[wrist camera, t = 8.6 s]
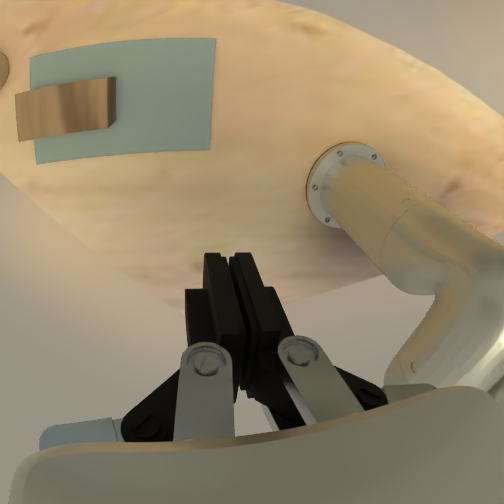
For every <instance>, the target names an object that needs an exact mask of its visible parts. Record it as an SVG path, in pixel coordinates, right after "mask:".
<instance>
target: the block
mask: <svg viewBox="0 0 504 504" xmlns="http://www.w3.org/2000/svg"><path fill="white" fill-rule="evenodd" d="M15 104H16V119H17V131H18V140H19V142H21V141H26V140H32V139H37V138H43V137H48V136H55V135H61V134H68V133H75V132H82V131H90V130H99V129H108V128H109V127H110V126H111V125H112V124H113V123H114V122H115V121H116V77H107V78H99V79H91V80H84V81H78V82H72V83H66V84H60V85H55V86H50V87H45V88H40V89H36V90H31V91H27V92H23V93H19V94H15Z"/></svg>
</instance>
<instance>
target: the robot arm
mask: <svg viewBox="0 0 504 504" xmlns="http://www.w3.org/2000/svg"><path fill="white" fill-rule="evenodd" d="M337 152H338V153H337ZM313 185H314V186H313ZM306 196H307V201H308V205H309V207H310V210H311V211H312V213H313V214H314V215H315V217H316V218H317V219H318V220H319V221H320V222H322V223H323V224H325V225H327V226H329V227H332V228H338V229H340V228H342V229H343V230H344V231H345V232H346V233H347V234H348V235H349V236H350V237H351V238H352V239H353V240H354V242H355V243H356V244H357V245H358V246H359V247H360V248H361V249H362V250H363V251H364V252H365V254H366V255H367V256H368V257H369V258H370V259H371V260H372V261H373V262H374V264H375V265H376V266H377V267H378V268H379V269H380V270H381V272H382V273H383V274H384V275H385V276H386V277H387V278H388V279H389V280H390V281H391V283H392V284H393V285H395V286H396V287H397V288H399V289H400V290H402V291H404V292H406V293H409V294H414V295H436V296H435V300H434V303H433V304H432V306H431V308H430V309H429V311H428V312H427V313H426V316H425V317H424V319H423V320H422V321H421V322H420V324H419V325H418V327H417V328H416V329H415V331H414V332H413V333H412V334H411V336H410V337H409V338H408V340H407V341H406V342H405V344H404V345H403V346H402V347H401V349H400V350H399V351H398V353H397V354H396V355H395V357H394V358H393V360H392V361H391V362H390V364H389V366H388V368H387V370H386V373H385V376H384V386H383V387H382V388H379V387H378V386H376V385H374V384H372V383H370V382H368V381H366V380H364V379H362V378H359V377H357V376H355V375H353V374H351V373H348V372H346V371H344V370H342V369H340V368H338V367H336V366H334V365H333V364H332V362H331V361H330V360H329V358H328V357H327V355H326V354H325V352H324V351H323V349H322V348H321V346H320V345H319V344H318V343H317V342H315V341H314V340H312V339H310V338H308V337H305V336H299V335H296V336H295V335H294V333H293V331H292V328H291V326H290V324H289V321H288V319H287V317H286V314H285V312H284V310H283V307H282V305H281V303H280V300H279V298H278V296H277V293H276V291H275V289H274V287H272V286H271V287H264V285H263V282H262V280H261V277H260V275H259V272H258V269H257V267H256V264H255V262H254V259H253V257H252V254H251V253H235V255H234V257H230V258H229V265H228V263H227V259H226V257H221V254H220V253H205V254H204V270H203V289H185V318H186V332H187V341H188V348H187V349H186V350H185V351H184V352H183V354H182V357H181V364H180V369H179V370H178V371H176V372H175V373H174V374H173V375H172V376H171V377H170V378H168V379H167V380H166V381H165V382H164V383H163V384H161V385H160V386H159V387H158V388H157V389H156V390H154V391H153V392H152V393H151V394H150V395H148V397H146V398H145V399H144V400H143V401H141V402H140V403H139V404H138V405H137V406H135V407H134V408H133V409H132V410H131V411H130V412H128V413H127V414H126V416H125V417H124V418H121V419H115V420H112V418H111V417H110V418H104V419H97V420H92V421H84V422H77V423H69V424H61V425H54V426H51V427H48V428H47V429H46V430H44V431H43V433H42V435H41V437H40V442H39V446H40V451H39V452H36V453H34V454H32V455H30V456H29V457H27V458H25V459H24V460H23V461H22V462H21V463H20V465H19V466H18V468H17V470H16V472H15V475H14V477H13V480H12V485H11V489H10V495H9V503H8V504H504V246H503V245H502V244H500V243H498V242H496V241H494V240H493V239H491V238H489V237H488V236H486V235H485V234H483V233H481V232H480V231H478V230H476V229H475V228H473V227H472V226H470V225H469V224H467V223H466V222H464V221H463V220H461V219H460V218H459V217H457V216H456V215H454V214H453V213H451V212H450V211H449V210H447V209H446V208H444V207H443V206H441V205H440V204H438V203H437V202H435V201H434V200H432V199H431V198H429V197H428V196H427V195H425V194H424V193H422V192H421V191H419V190H418V189H416V188H415V187H413V186H411V185H410V184H408V183H407V182H405V181H404V180H402V179H400V178H399V177H397V176H396V175H394V174H392V173H391V172H389V171H388V170H386V165H385V163H384V161H383V159H382V158H381V156H380V155H379V154H378V153H377V152H376V151H375V150H374V149H372V148H370V147H369V146H367V145H364V144H361V143H356V142H349V143H343V144H340V145H337V146H335V147H333V148H331V149H329V150H328V151H327V152H326V153H324V154H323V155H322V156H321V157H320V158H319V160H318V161H317V162H316V163H315V165H314V167H313V168H312V170H311V173H310V175H309V178H308V182H307V192H306ZM238 386H240V389H241V390H246V393H247V397H248V398H255V400H256V401H258V402H260V403H262V408H263V412H264V414H265V416H266V418H267V420H268V422H269V424H270V426H271V428H272V430H273V432H267V433H260V434H254V435H246V436H238V437H235V430H234V403H235V402H236V398H237V392H238Z"/></svg>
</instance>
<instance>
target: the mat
mask: <svg viewBox="0 0 504 504" xmlns="http://www.w3.org/2000/svg"><path fill="white" fill-rule="evenodd" d="M215 48H216V39H213V38H164V39H144V40H131V41H121V42H112V43H103V44H96V45H89V46H83V47H77V48H72V49H66V50H61V51H56V52H52V53H47V54H43V55H39V56H35V57H31V58H30V91H31V90H36V89H40V88H45V87H50V86H55V85H60V84H66V83H72V82H78V81H84V80H91V79H99V78H107V77H116V121H115V122H114V123H113V124H112V125H111V126H110V127H109V128H108V129H99V130H90V131H82V132H75V133H68V134H61V135H55V136H48V137H43V138H37V139H34V148H35V156H36V163H37V164H44V163H51V162H58V161H65V160H73V159H81V158H90V157H99V156H110V155H121V154H133V153H148V152H166V151H193V150H210V131H211V111H212V92H213V76H214V61H215Z"/></svg>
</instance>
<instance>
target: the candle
mask: <svg viewBox="0 0 504 504" xmlns="http://www.w3.org/2000/svg"><path fill="white" fill-rule="evenodd" d="M8 73H9V63H8V60H7V58H6V56H5V55H4V54H2V53H0V89H1V88H2V87H3V85H4V84H5V82H6V79H7V77H8Z"/></svg>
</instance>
